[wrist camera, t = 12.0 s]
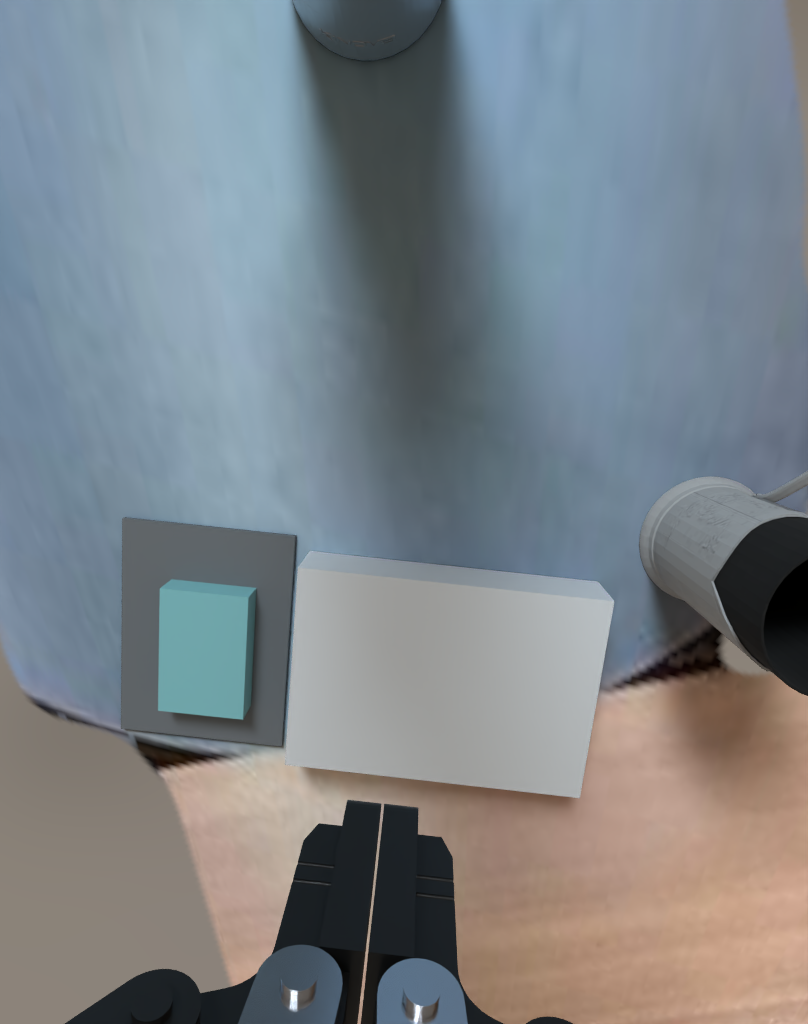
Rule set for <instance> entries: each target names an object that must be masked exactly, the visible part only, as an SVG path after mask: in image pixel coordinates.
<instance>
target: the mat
mask: <svg viewBox="0 0 808 1024" xmlns="http://www.w3.org/2000/svg"><path fill="white" fill-rule="evenodd" d="M295 548H296V535H287V534H278V533H268V532H259V531H249V530H240V529H231V528H221V527H212V526H202V525H193V524H183V523H174V522H164V521H155V520H146V519H136V518H127V517H125V518H123V519H122V653H121V729H130V730H139V731H148V732H157V733H166V734H174V735H183V736H192V737H201V738H210V739H219V740H228V741H237V742H246V743H254V744H263V745H272V746H281V747H282V744H283V732H284V717H285V701H286V686H287V671H288V655H289V640H290V625H291V610H292V594H293V579H294V564H295ZM171 579H174V580H183V581H193V582H203V583H213V584H223V585H232V586H242V587H252V588H256V607H255V628H254V649H253V671H252V692H251V706H250V708H249V710H248V712H247V713H246V715H245V717H244V719H243V720H241V719H232V718H222V717H213V716H203V715H194V714H185V713H175V712H166V711H158V677H159V606H160V588H161V587H162V586H164V585H165V584H166V583H167V582H169V581H170V580H171Z"/></svg>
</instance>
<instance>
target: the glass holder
mask: <svg viewBox="0 0 808 1024" xmlns="http://www.w3.org/2000/svg"><path fill="white" fill-rule="evenodd" d="M807 485H808V471H807V472H805V473H803V474H802V475H800V476H798V477H796V478H795V479H793V480H791V481H790V482H788V483H786V484H784V485H783V486H781V487H779V488H777V489H775V490H773V491H771V492H770V493H767V494H760V493H758V494H755V493H754V492H752V491H751V490H750V489H749V488H747V487H746V486H744V485H742V484H741V483H739V482H736V481H733V480H731V479H727V478H722V477H701V478H694V479H691V480H688V481H685V482H682V483H680V484H679V485H677V486H675V487H673V488H671V489H670V490H669V491H667V492H666V493H665V494H663V495H662V496H661V497H660V498H659V499H658V500H657V501H656V502H655V503H654V505H653V506H652V508H651V509H650V511H649V512H648V514H647V516H646V518H645V520H644V522H643V525H642V529H641V533H640V542H639V548H640V557H641V560H642V563H643V566H644V568H645V570H646V572H647V574H648V576H649V577H650V578H651V580H652V581H653V582H654V583H655V584H656V585H657V586H658V587H659V588H660V589H661V590H662V591H664V592H666V593H667V594H669V595H671V596H673V597H675V598H678V599H681V600H683V601H685V602H687V603H688V604H689V605H690V606H691V607H692V608H693V609H695V610H696V611H697V612H698V613H699V614H700V615H701V616H703V617H704V618H705V619H706V620H707V621H708V622H710V623H711V624H712V625H713V626H714V627H715V628H716V629H718V630H719V631H720V632H721V633H722V634H723V635H724V636H726V637H727V638H728V639H729V640H730V641H731V642H732V643H734V644H735V645H736V646H737V647H738V648H740V650H742V651H743V652H744V653H745V654H747V656H749V657H750V658H751V659H752V660H753V661H754V662H755V663H757V665H759V666H760V667H761V668H762V669H764V670H766V671H770V672H773V673H774V674H775V675H776V676H777V677H778V678H780V679H781V680H782V681H783V682H784V683H785V684H787V685H788V686H789V687H791V688H792V689H794V690H796V691H798V692H799V693H801V694H804V695H807V696H808V515H807V514H804V513H802V512H799V511H796V510H793V509H791V508H788V507H785V506H782V505H779V504H777V503H775V502H777V501H779V500H781V499H783V498H785V497H787V496H789V495H791V494H793V493H794V492H796V491H798V490H800V489H802V488H803V487H805V486H807Z"/></svg>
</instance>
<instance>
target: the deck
mask: <svg viewBox="0 0 808 1024" xmlns="http://www.w3.org/2000/svg"><path fill="white" fill-rule="evenodd" d="M613 606H614V600H613V599H612V598H611V597H610V596H609V594H608V593H607V592H606V591H605V589H604V588H603V587H602V586H601V585H600V583H599V582H597V581H588V580H579V579H569V578H560V577H550V576H541V575H532V574H522V573H513V572H503V571H494V570H485V569H475V568H466V567H456V566H447V565H438V564H428V563H419V562H409V561H400V560H391V559H381V558H372V557H362V556H353V555H344V554H334V553H325V552H315V551H309V553H308V554H307V555H306V557H305V558H304V560H303V561H302V563H301V564H300V565H299V567H298V575H297V590H296V605H295V620H294V635H293V650H292V665H291V680H290V695H289V710H288V725H287V740H286V755H285V765H291V766H300V767H309V768H317V769H326V770H335V771H344V772H353V773H362V774H371V775H379V776H388V777H397V778H406V779H415V780H424V781H432V782H441V783H450V784H459V785H468V786H477V787H486V788H494V789H503V790H512V791H521V792H530V793H539V794H547V795H556V796H565V797H574V798H580V794H581V788H582V782H583V777H584V771H585V765H586V760H587V754H588V748H589V743H590V737H591V731H592V725H593V720H594V714H595V708H596V703H597V697H598V691H599V686H600V680H601V674H602V669H603V663H604V657H605V652H606V646H607V640H608V634H609V629H610V623H611V617H612V612H613Z"/></svg>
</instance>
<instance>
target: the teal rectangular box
mask: <svg viewBox="0 0 808 1024" xmlns="http://www.w3.org/2000/svg"><path fill="white" fill-rule="evenodd" d="M255 607H256V588H252V587H242V586H232V585H223V584H213V583H203V582H193V581H183V580H174V579H171V580H170V581H169V582H167V583H166V584H165V585H164V586H162V587H161V588H160V606H159V677H158V711H166V712H175V713H185V714H194V715H203V716H213V717H222V718H232V719H241V720H243V719H244V717H245V715H246V713H247V712H248V710H249V708H250V706H251V692H252V671H253V649H254V628H255Z"/></svg>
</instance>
